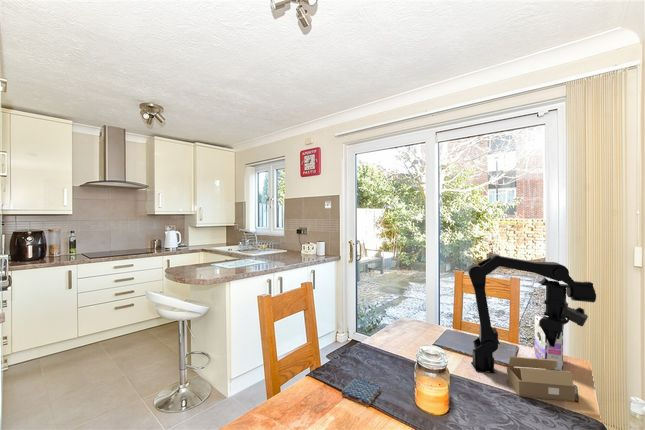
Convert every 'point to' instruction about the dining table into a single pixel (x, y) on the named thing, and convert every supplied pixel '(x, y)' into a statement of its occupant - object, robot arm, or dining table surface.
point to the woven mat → (361, 391)
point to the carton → (538, 388)
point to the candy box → (548, 346)
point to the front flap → (546, 376)
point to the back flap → (532, 363)
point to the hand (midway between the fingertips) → (554, 342)
